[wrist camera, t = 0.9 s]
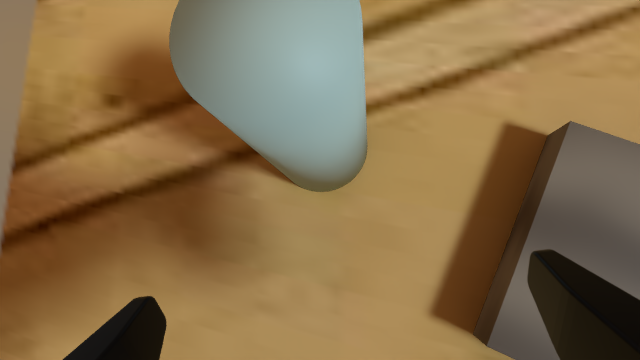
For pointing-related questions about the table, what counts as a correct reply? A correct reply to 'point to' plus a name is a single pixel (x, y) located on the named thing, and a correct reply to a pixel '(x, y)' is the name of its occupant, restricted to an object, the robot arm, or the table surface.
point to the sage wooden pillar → (280, 80)
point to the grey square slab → (567, 232)
